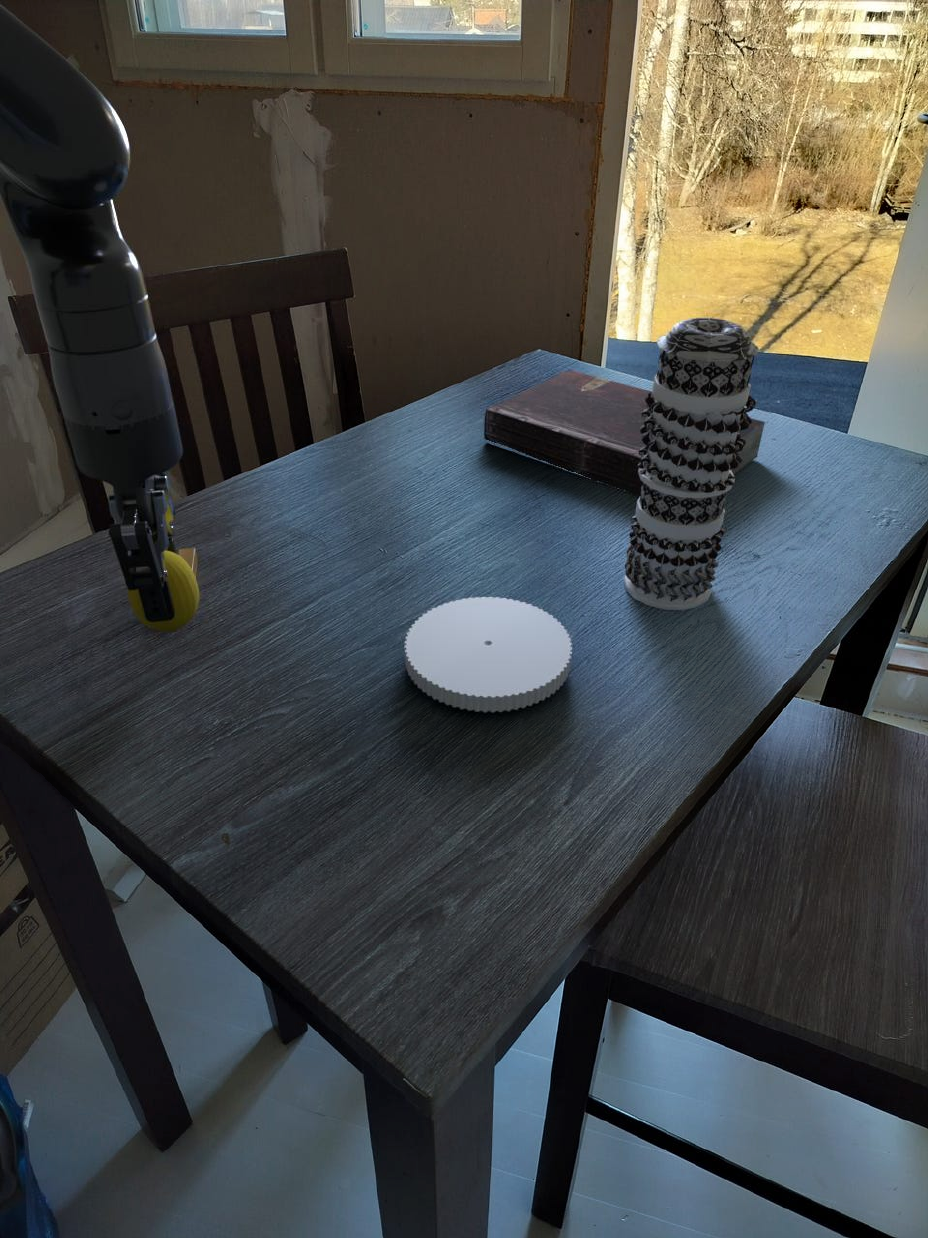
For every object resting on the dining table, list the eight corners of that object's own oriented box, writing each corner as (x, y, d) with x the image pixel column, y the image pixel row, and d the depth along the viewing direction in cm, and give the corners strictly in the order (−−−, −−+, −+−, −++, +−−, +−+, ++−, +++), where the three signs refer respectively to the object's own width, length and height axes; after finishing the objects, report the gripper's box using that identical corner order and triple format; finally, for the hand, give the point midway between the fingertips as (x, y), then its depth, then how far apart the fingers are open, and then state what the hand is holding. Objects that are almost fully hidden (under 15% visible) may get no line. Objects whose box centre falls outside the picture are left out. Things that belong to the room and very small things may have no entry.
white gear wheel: (493, 602, 81) (494, 579, 79) (604, 672, 72) (607, 649, 70) (372, 660, 73) (371, 637, 72) (480, 747, 64) (480, 722, 63)
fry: (174, 612, 79) (171, 597, 78) (181, 562, 86) (178, 548, 85) (192, 610, 79) (189, 596, 78) (198, 560, 86) (195, 547, 86)
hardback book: (483, 443, 111) (484, 406, 108) (566, 403, 122) (569, 369, 119) (683, 513, 95) (691, 472, 92) (756, 459, 107) (764, 421, 104)
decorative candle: (716, 618, 78) (774, 348, 64) (615, 605, 80) (650, 338, 66) (716, 568, 86) (768, 314, 71) (623, 556, 87) (656, 307, 73)
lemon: (126, 645, 71) (103, 563, 66) (160, 608, 75) (141, 529, 71) (186, 655, 70) (167, 572, 65) (217, 617, 74) (201, 537, 70)
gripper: (79, 371, 66) (128, 558, 76) (41, 446, 54) (105, 655, 64) (179, 365, 67) (214, 550, 77) (163, 437, 56) (207, 643, 65)
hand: (164, 597), depth 71 cm, fingers closed on lemon, 5 cm apart
